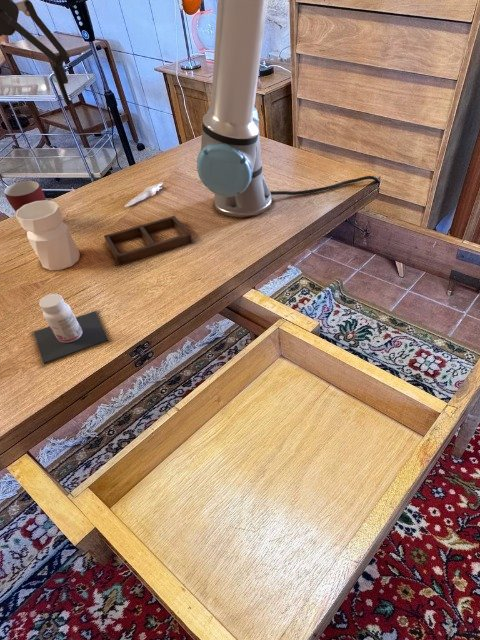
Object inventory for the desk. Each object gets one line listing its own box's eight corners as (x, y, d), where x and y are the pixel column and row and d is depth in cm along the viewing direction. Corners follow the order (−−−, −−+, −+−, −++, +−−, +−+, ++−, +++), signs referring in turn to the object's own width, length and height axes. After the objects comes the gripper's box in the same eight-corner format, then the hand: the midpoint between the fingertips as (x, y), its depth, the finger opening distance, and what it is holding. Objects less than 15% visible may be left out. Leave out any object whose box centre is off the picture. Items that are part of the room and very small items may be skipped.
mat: (95, 312, 91) (95, 311, 90) (108, 340, 85) (108, 339, 85) (34, 333, 87) (33, 331, 86) (44, 364, 81) (43, 362, 81)
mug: (10, 229, 112) (-12, 190, 105) (35, 215, 117) (16, 176, 109) (40, 238, 109) (20, 198, 102) (64, 223, 114) (47, 184, 106)
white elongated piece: (160, 186, 127) (158, 179, 125) (166, 188, 126) (165, 181, 125) (121, 208, 119) (119, 201, 117) (129, 211, 118) (126, 204, 116)
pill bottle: (52, 336, 85) (31, 301, 79) (74, 323, 88) (55, 288, 81) (65, 347, 83) (45, 312, 77) (87, 334, 86) (69, 298, 79)
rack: (176, 222, 113) (174, 215, 112) (192, 242, 107) (190, 234, 106) (106, 243, 108) (103, 235, 106) (119, 265, 101) (116, 257, 100)
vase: (36, 271, 100) (8, 221, 91) (48, 250, 106) (23, 200, 97) (74, 269, 100) (50, 219, 91) (85, 248, 106) (63, 199, 97)
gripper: (45, -43, 81) (90, 92, 97) (-111, -30, 73) (-34, 115, 89) (53, -39, 77) (98, 102, 93) (-111, -25, 69) (-31, 126, 85)
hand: (34, 109), depth 91 cm, fingers open, 13 cm apart
